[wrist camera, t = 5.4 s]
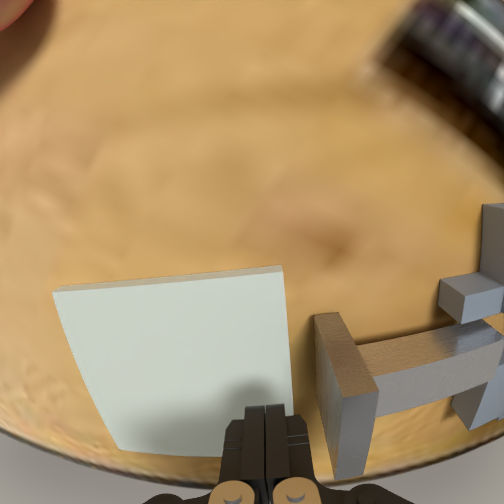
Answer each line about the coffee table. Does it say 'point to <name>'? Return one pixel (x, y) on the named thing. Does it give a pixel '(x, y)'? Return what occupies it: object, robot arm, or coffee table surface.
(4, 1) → the decorative fruit
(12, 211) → the coffee table surface
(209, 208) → the coffee table surface
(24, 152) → the coffee table surface
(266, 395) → the board
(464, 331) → the grey t-shaped block
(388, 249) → the coffee table surface
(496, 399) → the socket block
